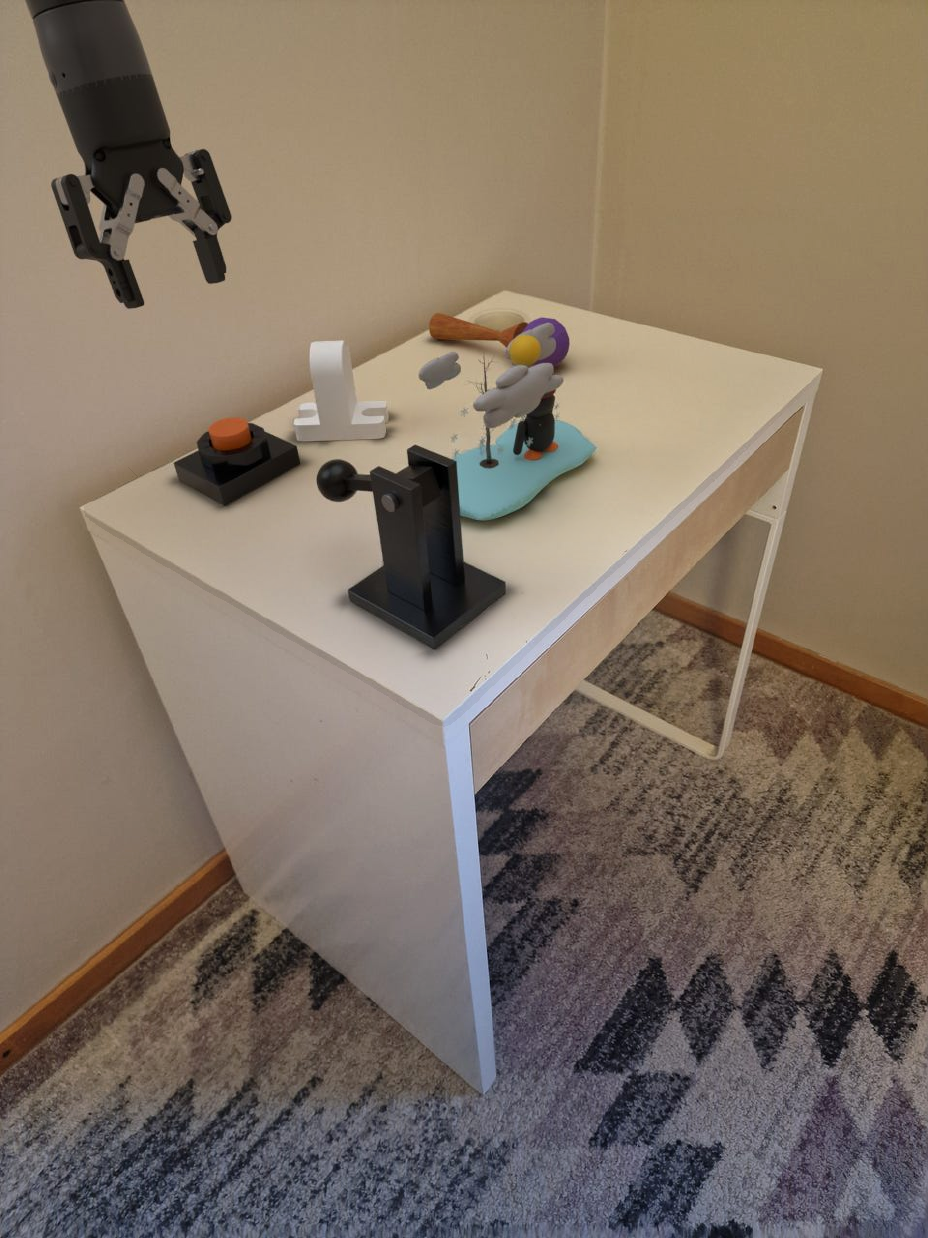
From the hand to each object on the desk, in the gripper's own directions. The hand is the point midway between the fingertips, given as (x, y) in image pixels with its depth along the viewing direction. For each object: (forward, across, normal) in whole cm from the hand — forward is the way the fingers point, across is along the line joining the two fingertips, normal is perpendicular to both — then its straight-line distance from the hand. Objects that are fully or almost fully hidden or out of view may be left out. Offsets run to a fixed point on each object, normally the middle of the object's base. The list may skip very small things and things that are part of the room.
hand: (177, 294), depth 75 cm
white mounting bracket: (+19, +17, +4) cm, 25 cm away
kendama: (+18, +42, 0) cm, 45 cm away
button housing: (+19, +4, +6) cm, 20 cm away
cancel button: (+15, +3, +5) cm, 16 cm away
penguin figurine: (+24, +19, -18) cm, 35 cm away
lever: (+17, -1, -20) cm, 27 cm away
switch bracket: (+26, 0, -23) cm, 35 cm away
